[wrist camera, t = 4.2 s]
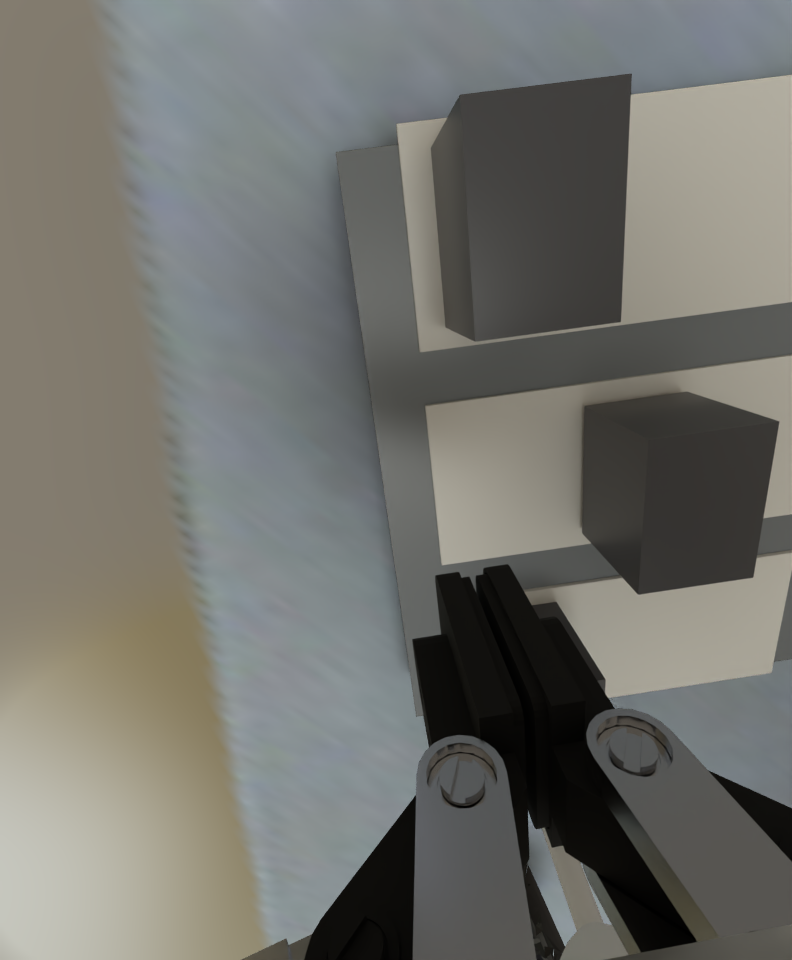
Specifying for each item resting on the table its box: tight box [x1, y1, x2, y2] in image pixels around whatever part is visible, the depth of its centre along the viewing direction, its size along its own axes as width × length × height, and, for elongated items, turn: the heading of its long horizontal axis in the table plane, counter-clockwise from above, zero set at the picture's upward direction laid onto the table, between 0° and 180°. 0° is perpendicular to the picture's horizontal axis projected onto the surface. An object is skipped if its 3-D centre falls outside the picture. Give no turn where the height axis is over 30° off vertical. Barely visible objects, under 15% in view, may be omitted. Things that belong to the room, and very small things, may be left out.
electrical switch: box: [523, 865, 565, 960], centre depth 30 cm, size 9×5×9 cm, turn 80°
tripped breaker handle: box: [582, 392, 780, 595], centre depth 18 cm, size 4×6×4 cm
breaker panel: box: [336, 74, 792, 717], centre depth 20 cm, size 20×25×8 cm
